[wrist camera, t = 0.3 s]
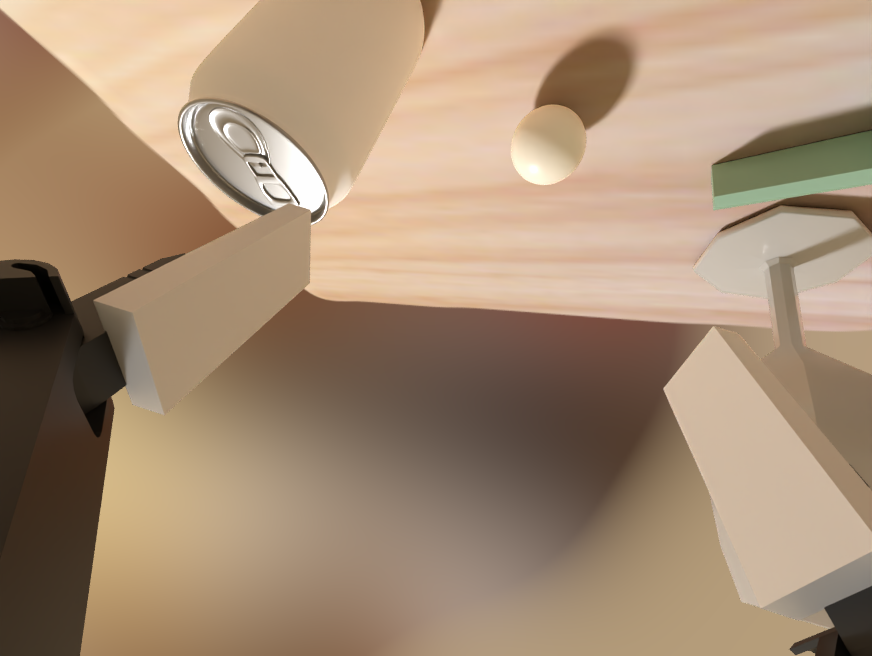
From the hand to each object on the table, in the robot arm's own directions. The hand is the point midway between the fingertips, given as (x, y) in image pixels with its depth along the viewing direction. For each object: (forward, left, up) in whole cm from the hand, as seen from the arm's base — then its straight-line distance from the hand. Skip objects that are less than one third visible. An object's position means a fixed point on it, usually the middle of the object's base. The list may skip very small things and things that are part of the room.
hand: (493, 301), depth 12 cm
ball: (+3, +1, -13) cm, 13 cm away
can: (0, -10, -15) cm, 18 cm away
